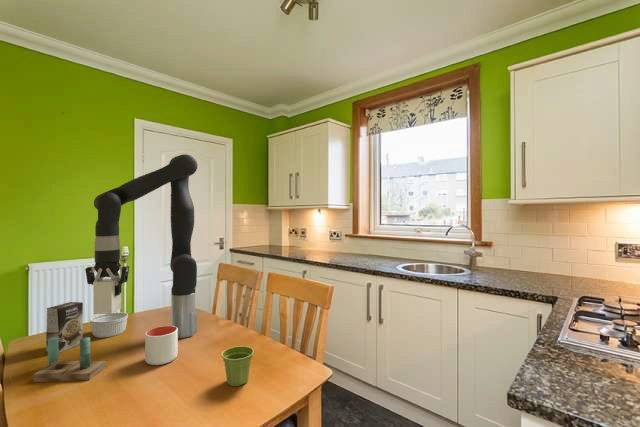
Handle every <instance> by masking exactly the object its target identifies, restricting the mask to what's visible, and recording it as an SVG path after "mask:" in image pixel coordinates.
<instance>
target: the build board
mask: <svg viewBox="0 0 640 427" xmlns="http://www.w3.org/2000/svg"><path fill="white" fill-rule="evenodd" d="M78 363H80V360H58V361H55V362H53V363H51V364H50V365H48V364H47V366H45V367H43V368H42V369H40V370H37V371H36V372H34V373H33V382H34V383H38V382H39V383H41V382H42V383H44V382H63V381H62V374H63V373H65V372H66V371H68V370H69V369H71V368H72V367H74V366H75V365H77V364H78Z"/></svg>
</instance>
